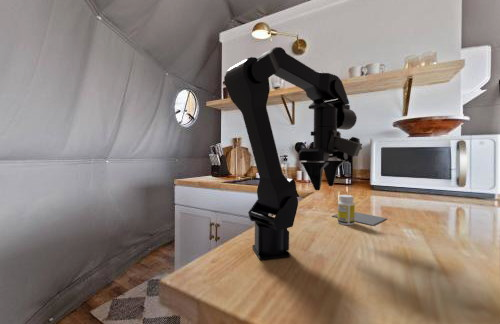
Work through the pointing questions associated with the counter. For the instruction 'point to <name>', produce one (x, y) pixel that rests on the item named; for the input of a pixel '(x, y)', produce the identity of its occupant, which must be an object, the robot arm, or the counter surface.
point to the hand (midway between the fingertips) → (324, 187)
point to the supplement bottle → (346, 210)
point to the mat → (366, 219)
